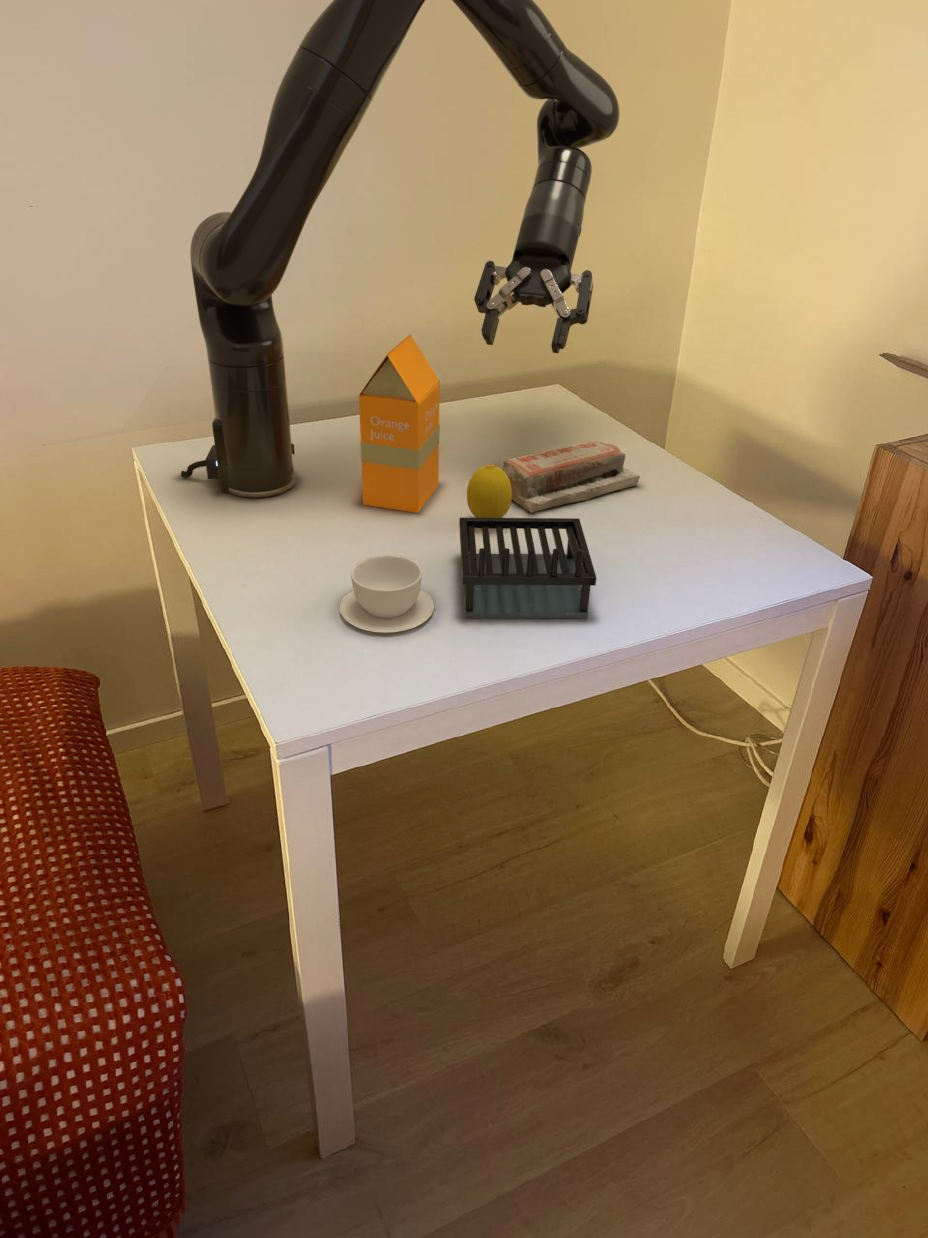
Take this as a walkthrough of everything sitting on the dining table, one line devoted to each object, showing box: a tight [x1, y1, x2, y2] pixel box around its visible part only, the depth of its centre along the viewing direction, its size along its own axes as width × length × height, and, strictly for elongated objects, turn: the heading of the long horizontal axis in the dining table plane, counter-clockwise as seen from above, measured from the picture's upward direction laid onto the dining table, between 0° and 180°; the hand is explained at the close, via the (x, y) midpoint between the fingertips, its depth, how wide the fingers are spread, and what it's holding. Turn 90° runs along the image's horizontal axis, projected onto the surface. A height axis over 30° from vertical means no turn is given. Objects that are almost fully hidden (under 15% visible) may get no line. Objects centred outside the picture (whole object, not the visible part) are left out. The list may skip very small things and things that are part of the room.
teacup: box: [339, 554, 435, 633], centre depth 98 cm, size 10×10×5 cm
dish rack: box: [458, 517, 597, 619], centre depth 101 cm, size 14×13×8 cm
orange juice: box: [358, 334, 441, 514], centre depth 117 cm, size 8×9×20 cm
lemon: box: [466, 463, 512, 518], centre depth 114 cm, size 6×6×8 cm
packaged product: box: [501, 441, 641, 513], centre depth 124 cm, size 18×5×10 cm
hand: (521, 345), depth 115 cm, fingers open, 8 cm apart
